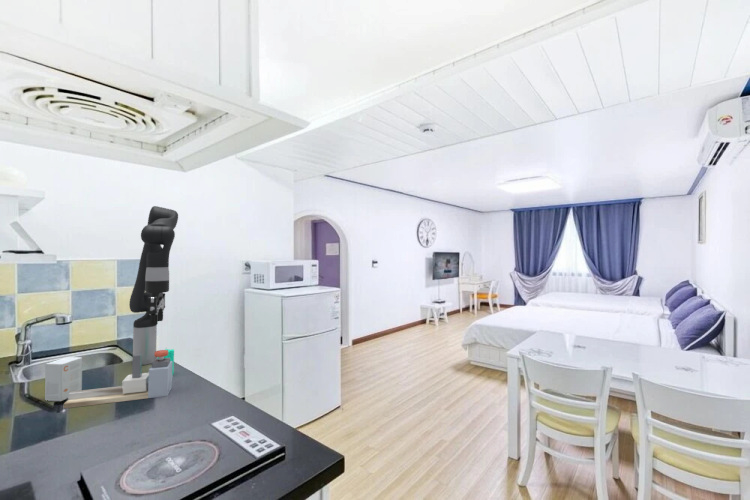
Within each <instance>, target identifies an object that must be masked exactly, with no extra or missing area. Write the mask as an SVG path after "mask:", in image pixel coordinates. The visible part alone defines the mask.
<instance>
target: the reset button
mask: <svg viewBox="0 0 750 500" xmlns="http://www.w3.org/2000/svg"><path fill="white" fill-rule="evenodd" d="M167 355H168V350H165V349H160V350H156V351H155V352H154V356H155V357H156V358H157V357H159V361H164V356H167Z"/></svg>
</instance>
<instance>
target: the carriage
mask: <svg viewBox="0 0 750 500" xmlns="http://www.w3.org/2000/svg"><path fill="white" fill-rule="evenodd" d="M131 361H132V362H131V363H132V367H131V371H132V372H131V374H128V375H126V377H125V378H124V379H123V380H122V381H121V383H122V384H121V386H122V389H123V394H126V393H135V392H144V391H146V390H147V384H148V380H149V372H143V371H142V370H143V365H142V354H134V355H133V354H132V359H131Z"/></svg>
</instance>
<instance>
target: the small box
mask: <svg viewBox="0 0 750 500" xmlns="http://www.w3.org/2000/svg"><path fill="white" fill-rule="evenodd" d="M44 367H45V370H44V371H45V373H44V374H45V378H44V379H45V380H44V382H45V383H44V388H45V389H44V401H45V400H46V402H51V401H52V402H62V401H64V400H68V394H69V393H70V392H72V391H81V390H82V389H83V357H82V356H80V357H79V356H66V357H62V358H60V359H57V360H54V361H50V362H47V363H45V365H44ZM47 400H48V401H47Z"/></svg>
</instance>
